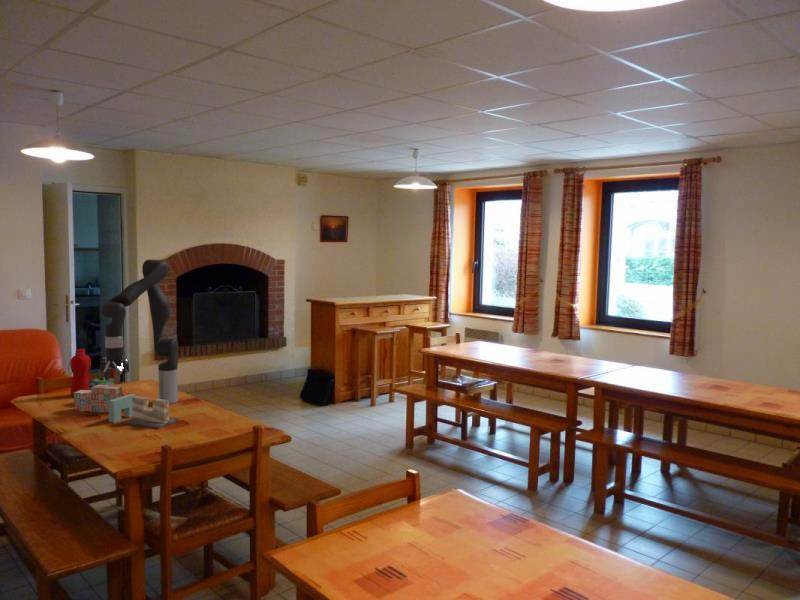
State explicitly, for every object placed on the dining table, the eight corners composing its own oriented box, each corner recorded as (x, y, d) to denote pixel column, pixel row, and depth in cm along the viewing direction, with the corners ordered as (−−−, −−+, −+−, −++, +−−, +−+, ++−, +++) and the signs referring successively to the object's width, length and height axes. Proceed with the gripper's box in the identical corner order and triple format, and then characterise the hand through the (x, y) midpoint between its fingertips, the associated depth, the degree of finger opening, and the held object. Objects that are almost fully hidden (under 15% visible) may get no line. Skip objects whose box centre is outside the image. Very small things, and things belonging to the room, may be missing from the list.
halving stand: (144, 416, 295) (143, 393, 294) (178, 420, 288) (178, 397, 287) (122, 423, 282) (121, 400, 281) (158, 428, 275) (157, 404, 274)
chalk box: (115, 400, 322) (114, 372, 321) (98, 404, 314) (98, 375, 313) (105, 398, 327) (104, 370, 326) (88, 401, 319) (87, 373, 318)
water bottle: (72, 393, 336) (71, 347, 334) (93, 393, 337) (92, 347, 335) (65, 397, 327) (64, 350, 324) (87, 397, 328) (86, 350, 326)
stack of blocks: (73, 411, 301) (73, 386, 300) (81, 408, 307) (80, 383, 306) (116, 413, 300) (115, 388, 299) (122, 409, 306) (122, 385, 305)
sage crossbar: (131, 414, 297) (130, 394, 296) (136, 415, 296) (135, 394, 295) (108, 422, 284) (108, 400, 283) (114, 422, 283) (113, 401, 282)
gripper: (95, 346, 282) (96, 381, 283) (120, 348, 277) (121, 383, 278) (108, 343, 289) (108, 378, 290) (132, 345, 284) (133, 380, 286)
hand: (114, 380), depth 284 cm, fingers open, 8 cm apart
